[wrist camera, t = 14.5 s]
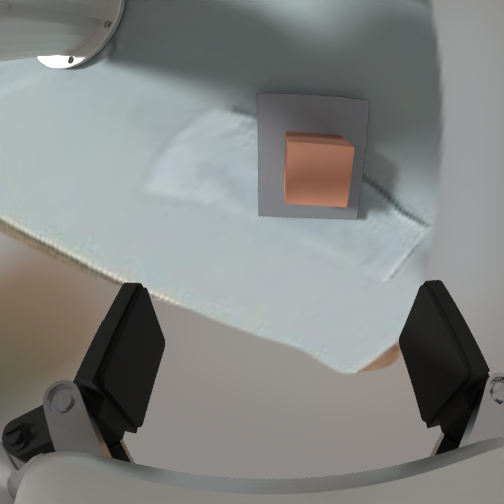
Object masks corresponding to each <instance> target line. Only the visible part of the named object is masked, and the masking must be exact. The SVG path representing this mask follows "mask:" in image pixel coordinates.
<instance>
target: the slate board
mask: <svg viewBox="0 0 504 504" xmlns="http://www.w3.org/2000/svg"><path fill="white" fill-rule="evenodd" d="M257 114H258V216H271V217H309V218H336V219H357V214H358V207H359V200H360V193H361V186H362V178H363V169H364V161H365V151H366V141H367V129H368V115H369V101H367V100H361V99H353V98H345V97H335V96H323V95H308V94H286V93H258V94H257ZM286 131H294V132H309V133H322V134H333V135H341V136H342V137H343V138H344V139H346V140H347V141H348V142H349V143H350V144H351V145H352V146H354V147H355V148H354V157H353V165H352V173H351V181H350V188H349V195H348V202H347V207H334V206H317V205H299V204H285V194H284V162H285V137H286Z"/></svg>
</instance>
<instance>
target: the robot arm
mask: <svg viewBox="0 0 504 504" xmlns="http://www.w3.org/2000/svg"><path fill="white" fill-rule="evenodd" d="M124 6H125V0H0V62H1V61H7V60H15V59H23V58H33V57H37V58H38V59H39V60H40V61H41V63H43V64H44V65H46V66H47V67H50V68H54V69H66V68H72V67H75V66H78V65H80V64H82V63H84V62H87V61H88V60H89V59H91V58H92V57H94V56H95V55H96V54H97V53H98V52H99V51H100V50H101V49H102V48H103V47H104V46H105V45H106V44H107V42H108V41H109V40H110V39H111V37H112V35H113V34H114V32H115V31H116V29H117V27H118V25H119V23H120V20H121V18H122V14H123V11H124ZM110 24H111V26H110ZM399 345H400V349H401V351H402V354H403V357H404V360H405V364H406V367H407V370H408V373H409V376H410V379H411V383H412V386H413V389H414V393H415V396H416V400H417V403H418V407H419V411H420V414H421V418H422V420H423V421H424V422H426V424H427V428H431V427H434V426H438V425H440V426H441V430H442V431H441V433H440V436H439V438H438V440H437V442H436V444H435V447H434V448H433V451H432V453H431V455H430V457H427V458H424V459H420V460H417V461H413V462H409V463H405V464H400V465H396V466H392V467H387V468H381V469H376V470H370V471H364V472H358V473H351V474H344V475H335V476H325V477H313V478H295V479H248V478H247V479H246V478H229V477H216V476H206V475H198V474H190V473H183V472H176V471H171V470H165V469H159V468H154V467H149V466H144V465H139V464H135V462H134V460H133V458H132V457H131V455H130V453H129V451H128V449H127V447H126V445H125V443H124V441H123V436H124V432H125V431H127V432H132V433H136V432H137V428H138V427H141V426H142V424H143V421H144V418H145V414H146V411H147V407H148V403H149V399H150V396H151V392H152V389H153V385H154V382H155V378H156V375H157V372H158V368H159V365H160V361H161V358H162V354H163V352H164V347H165V339H164V336H163V333H162V331H161V328H160V325H159V322H158V320H157V317H156V314H155V311H154V308H153V305H152V302H151V299H150V296H149V293H148V290H147V288H145V287H143V286H142V284H141V283H124V284H123V285H122V287H121V289H120V291H119V293H118V295H117V296H116V298H115V300H114V302H113V304H112V306H111V307H110V309H109V311H108V313H107V315H106V317H105V319H104V320H103V322H102V323H101V325H100V327H99V329H98V331H97V333H96V335H95V337H94V339H93V341H92V343H91V345H90V347H89V349H88V351H87V353H86V356H85V357H84V359H83V362H82V364H81V366H80V368H79V370H78V372H77V375H76V377H75V379H74V381H73V382H71V381H69V380H60V381H56V382H55V383H53V384H52V385H50V387H49V388H48V389H47V390H46V392H45V394H44V397H43V405H41V406H40V407H38V408H36V409H34V410H32V411H30V412H28V413H26V414H24V415H22V416H20V417H18V418H16V419H14V420H12V421H11V422H9V423H8V424H7V425H6V427H5V429H4V431H3V436H2V442H0V504H504V374H503V373H494V374H492V375H491V376H489V374H488V372H489V371H490V370H489V368H488V366H487V363H486V361H485V359H484V357H483V355H482V353H481V351H480V349H479V347H478V345H477V343H476V341H475V339H474V337H473V335H472V333H471V331H470V329H469V327H468V325H467V324H466V322H465V320H464V318H463V316H462V315H461V313H460V311H459V309H458V308H457V306H456V304H455V302H454V301H453V299H452V297H451V295H450V294H449V292H448V290H447V289H446V287H445V286H444V284H443V282H442V281H440V280H433V281H425V282H424V284H423V285H421V286H420V288H419V290H418V293H417V296H416V298H415V301H414V303H413V306H412V308H411V311H410V313H409V316H408V318H407V321H406V323H405V325H404V328H403V330H402V332H401V334H400V337H399Z"/></svg>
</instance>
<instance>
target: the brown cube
mask: <svg viewBox="0 0 504 504" xmlns="http://www.w3.org/2000/svg"><path fill="white" fill-rule="evenodd" d="M354 148H355V147H354V146H352V145H351V144H350V143H349V142H348V141H347V140H346V139H344V138H343V137H342V136H341V135H333V134H322V133H309V132H294V131H286V137H285V162H284V194H285V204H299V205H317V206H334V207H347V202H348V195H349V188H350V181H351V173H352V165H353V157H354Z"/></svg>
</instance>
